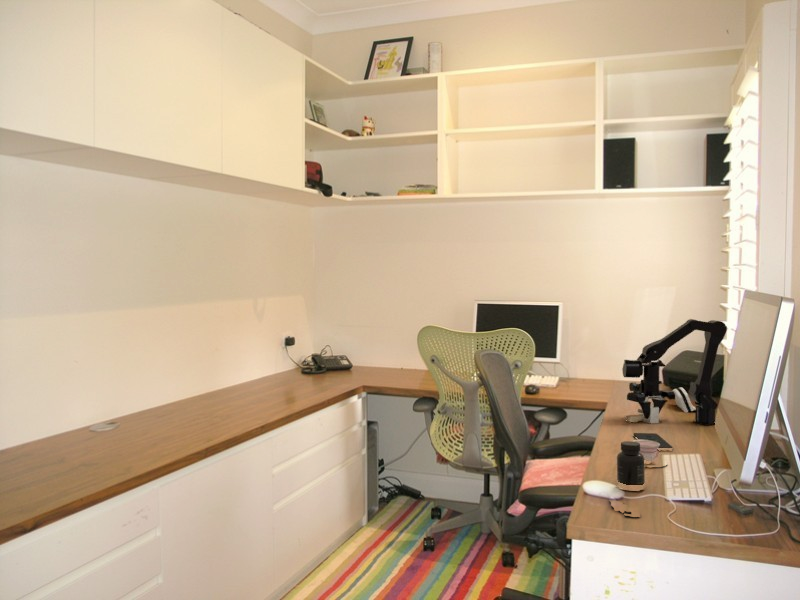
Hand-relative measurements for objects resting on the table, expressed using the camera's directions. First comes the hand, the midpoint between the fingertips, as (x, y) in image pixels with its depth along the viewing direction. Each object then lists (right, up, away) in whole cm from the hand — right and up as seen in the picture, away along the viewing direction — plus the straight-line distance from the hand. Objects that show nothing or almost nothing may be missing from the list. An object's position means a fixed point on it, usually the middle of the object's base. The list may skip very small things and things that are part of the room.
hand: (650, 418), depth 246 cm
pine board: (-2, -2, +4) cm, 4 cm away
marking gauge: (-1, -1, +2) cm, 3 cm away
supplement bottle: (-36, -4, -78) cm, 86 cm away
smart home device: (-12, -3, -31) cm, 34 cm away
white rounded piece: (+24, -1, +26) cm, 35 cm away
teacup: (-23, -4, -54) cm, 59 cm away
